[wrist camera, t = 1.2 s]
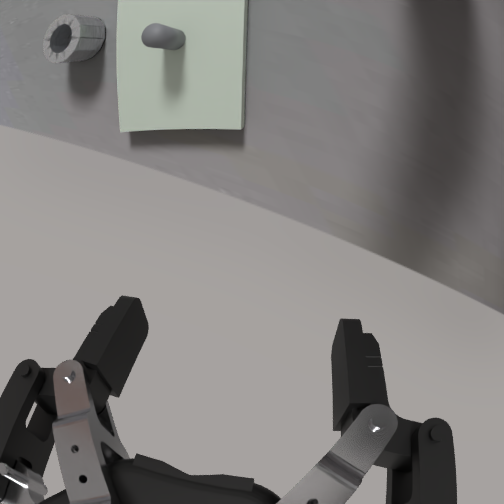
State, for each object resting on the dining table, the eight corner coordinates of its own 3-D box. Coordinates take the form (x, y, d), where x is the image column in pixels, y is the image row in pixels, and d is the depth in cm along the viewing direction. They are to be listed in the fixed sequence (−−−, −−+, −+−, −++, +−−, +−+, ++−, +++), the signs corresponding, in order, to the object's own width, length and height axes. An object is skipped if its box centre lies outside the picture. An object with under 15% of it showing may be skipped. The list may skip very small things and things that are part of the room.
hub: (69, 24, 23) (44, 23, 19) (105, 11, 22) (81, 7, 18) (69, 64, 26) (43, 68, 22) (104, 54, 26) (79, 55, 22)
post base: (128, -21, 20) (95, -34, 14) (249, -40, 19) (237, -65, 13) (128, 128, 31) (96, 143, 25) (244, 126, 30) (231, 139, 24)
